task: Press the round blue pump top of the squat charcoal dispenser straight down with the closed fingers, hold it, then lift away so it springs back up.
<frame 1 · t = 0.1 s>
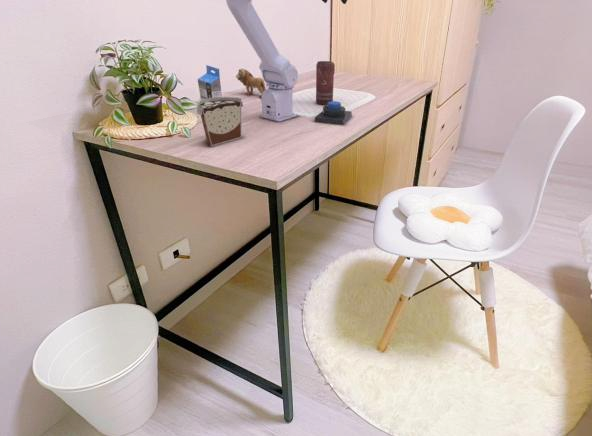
hand: (336, 0, 120), 32 cm above the table, tool tilted 50°, fingers open, 7 cm apart
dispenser: (333, 118, 117), on the table
tape cartridge: (212, 107, 124), on the table
food container: (219, 139, 96), on the table
pump top: (334, 105, 114), point 4 cm above the table, slide at 0.1 cm
can: (324, 104, 133), on the table
lion figurine: (253, 95, 140), on the table
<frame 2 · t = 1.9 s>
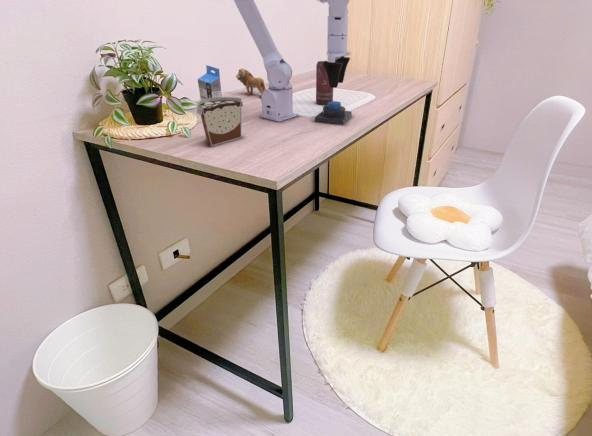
hand: (336, 84, 112), 10 cm above the table, tool pointing down, fingers open, 7 cm apart
nothing on the table moved.
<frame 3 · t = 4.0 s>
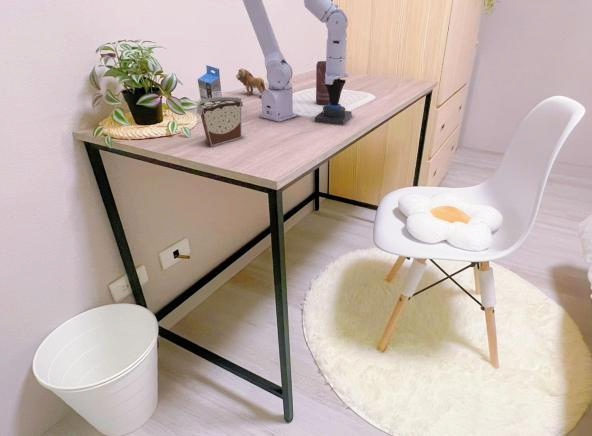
hand: (334, 104, 114), 4 cm above the table, tool pointing down, fingers closed, pressing on pump top
pump top: (334, 107, 115), point 4 cm above the table, slide at -0.5 cm, touching gripper
everything else where it was.
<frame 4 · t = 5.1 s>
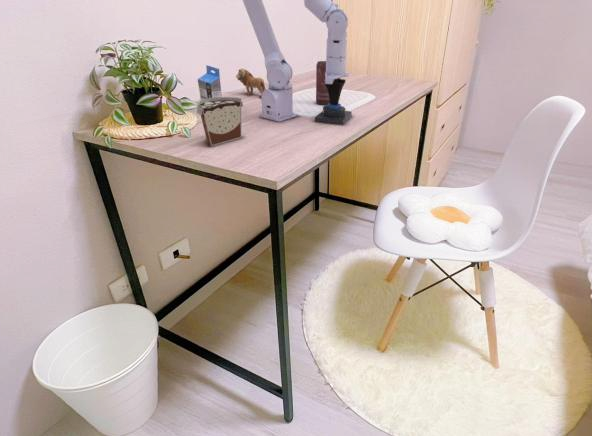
hand: (334, 104, 114), 5 cm above the table, tool pointing down, fingers closed, pressing on pump top
pump top: (334, 107, 115), point 4 cm above the table, slide at -0.4 cm, touching gripper
everything else where it was.
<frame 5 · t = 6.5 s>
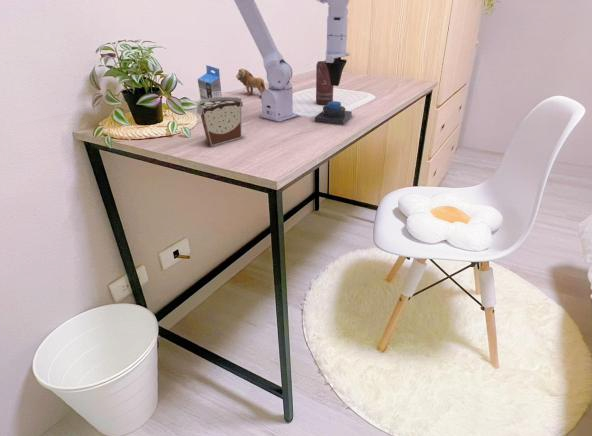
hand: (334, 85, 111), 10 cm above the table, tool pointing down, fingers closed
pump top: (334, 105, 114), point 4 cm above the table, slide at 0.1 cm
everything else where it was.
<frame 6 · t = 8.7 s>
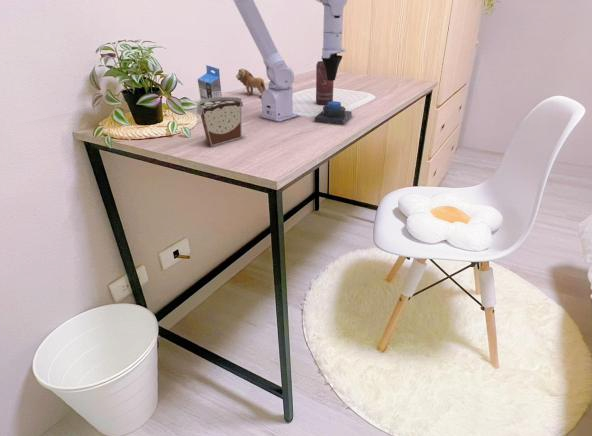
hand: (331, 80, 117), 10 cm above the table, tool pointing down, fingers closed
nothing on the table moved.
at the end: pump top pushed in 1.3 cm at the most during the clip, back to where it started at the end; pump top slide at 0.1 cm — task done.
